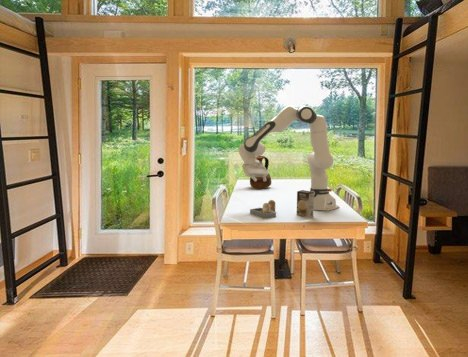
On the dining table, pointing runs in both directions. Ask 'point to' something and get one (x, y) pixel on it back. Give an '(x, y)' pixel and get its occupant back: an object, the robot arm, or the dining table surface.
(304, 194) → the coffee box
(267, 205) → the cream egg
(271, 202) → the brown rounded oval piece
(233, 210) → the dining table surface
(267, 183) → the ceramic pitcher
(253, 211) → the egg carton
